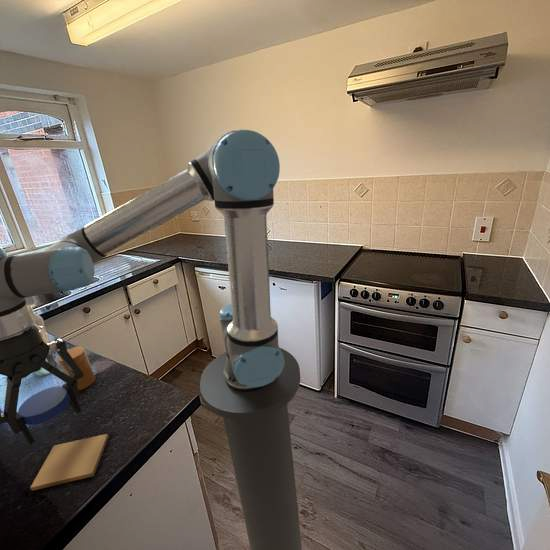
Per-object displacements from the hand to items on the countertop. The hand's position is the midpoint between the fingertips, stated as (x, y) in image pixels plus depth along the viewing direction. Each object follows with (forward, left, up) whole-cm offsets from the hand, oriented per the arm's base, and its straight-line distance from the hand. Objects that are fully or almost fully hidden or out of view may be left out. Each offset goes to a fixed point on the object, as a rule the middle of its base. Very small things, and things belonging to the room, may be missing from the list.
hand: (54, 423), depth 63 cm
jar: (+9, -29, -11) cm, 32 cm away
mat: (0, 0, -11) cm, 11 cm away
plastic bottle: (+28, -48, -12) cm, 57 cm away
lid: (0, 0, +6) cm, 6 cm away
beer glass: (+24, -40, -12) cm, 48 cm away
